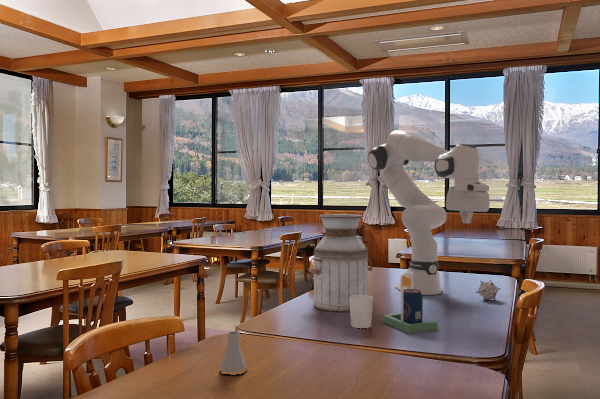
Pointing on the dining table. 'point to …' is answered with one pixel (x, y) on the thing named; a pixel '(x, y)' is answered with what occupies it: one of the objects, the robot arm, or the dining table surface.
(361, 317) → the white cup
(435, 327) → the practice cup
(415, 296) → the soda can
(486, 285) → the game die
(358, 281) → the milk can
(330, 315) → the dining table surface
